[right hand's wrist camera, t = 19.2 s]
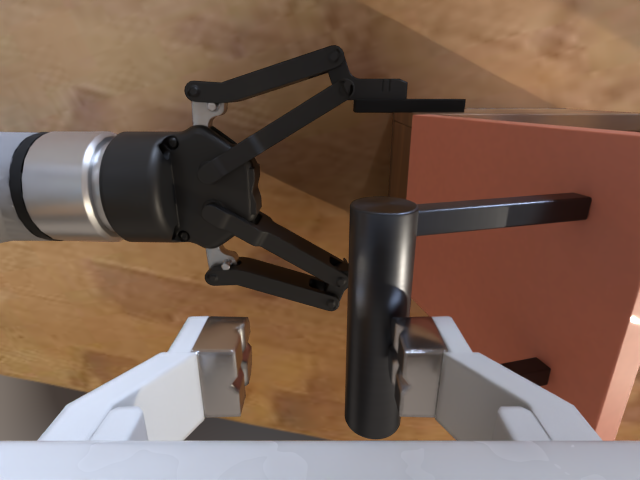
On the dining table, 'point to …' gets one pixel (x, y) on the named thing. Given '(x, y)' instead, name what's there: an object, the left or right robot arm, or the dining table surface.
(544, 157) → the lid
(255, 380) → the dining table surface
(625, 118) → the chest
